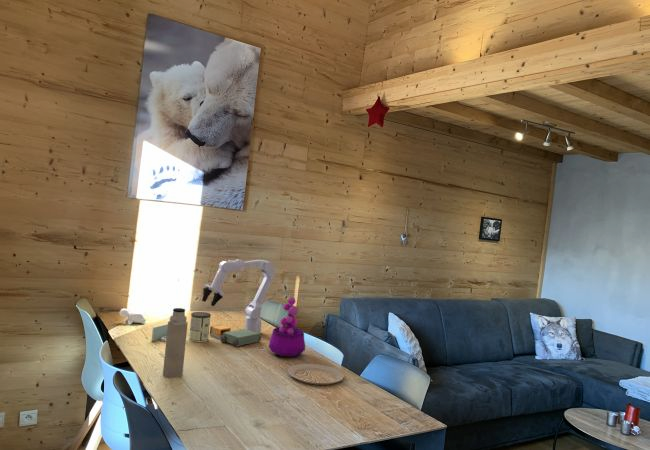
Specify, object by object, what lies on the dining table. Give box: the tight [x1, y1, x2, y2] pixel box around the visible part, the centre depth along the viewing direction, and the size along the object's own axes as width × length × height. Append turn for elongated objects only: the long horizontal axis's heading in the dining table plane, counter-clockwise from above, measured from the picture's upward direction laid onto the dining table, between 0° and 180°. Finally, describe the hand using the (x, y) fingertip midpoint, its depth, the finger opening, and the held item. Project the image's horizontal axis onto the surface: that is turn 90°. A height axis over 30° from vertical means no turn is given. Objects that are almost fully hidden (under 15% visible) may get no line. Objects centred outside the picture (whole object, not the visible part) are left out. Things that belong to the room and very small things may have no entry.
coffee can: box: [188, 311, 212, 343], centre depth 259 cm, size 10×10×14 cm
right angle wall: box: [151, 323, 168, 343], centre depth 252 cm, size 12×12×8 cm
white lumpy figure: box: [118, 308, 147, 326], centre depth 279 cm, size 9×8×15 cm
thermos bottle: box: [162, 307, 189, 379], centre depth 203 cm, size 8×8×28 cm
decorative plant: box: [268, 296, 306, 358], centre depth 248 cm, size 19×18×30 cm
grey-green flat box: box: [209, 328, 262, 348], centre depth 267 cm, size 18×25×5 cm
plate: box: [287, 363, 345, 386], centre depth 219 cm, size 26×26×2 cm
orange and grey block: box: [209, 324, 232, 337], centre depth 273 cm, size 9×8×4 cm
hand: (207, 303), depth 269 cm, fingers open, 7 cm apart
